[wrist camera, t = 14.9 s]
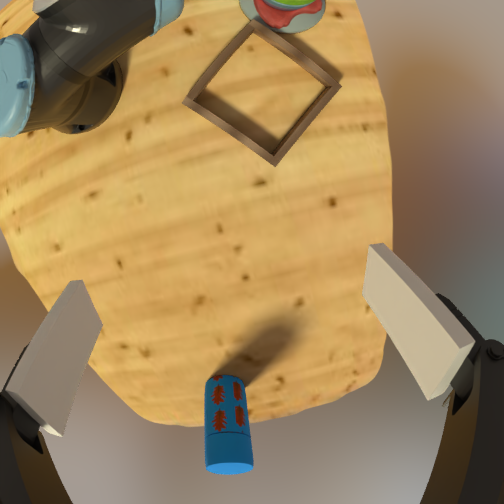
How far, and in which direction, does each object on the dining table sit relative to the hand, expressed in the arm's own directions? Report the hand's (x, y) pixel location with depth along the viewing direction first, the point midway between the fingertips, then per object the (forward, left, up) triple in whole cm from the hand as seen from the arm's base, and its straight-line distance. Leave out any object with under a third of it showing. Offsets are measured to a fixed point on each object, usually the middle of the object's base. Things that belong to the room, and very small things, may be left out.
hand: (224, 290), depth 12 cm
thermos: (+32, -47, -35) cm, 67 cm away
